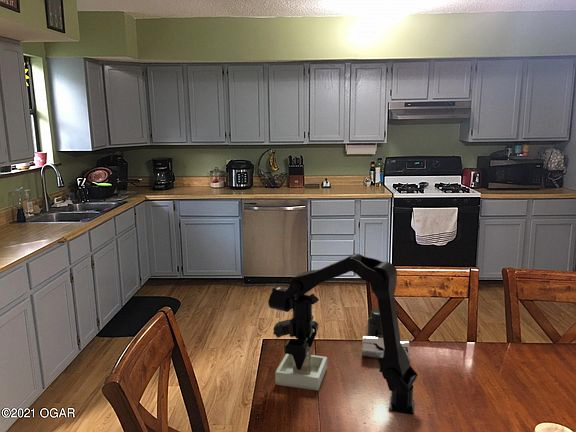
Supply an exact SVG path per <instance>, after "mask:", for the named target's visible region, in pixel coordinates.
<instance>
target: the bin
mask: <svg viewBox="0 0 576 432" xmlns="http://www.w3.org/2000/svg"><path fill="white" fill-rule="evenodd" d="M327 370H328V357H327V356H322V355H315V354H311V372H310V374H309V375H306V374H299V373H293V356H292V355H291V354H286V353H285V355H284V357H283V359H282V360H281V362H279V366H278V367H277V368H276V370H275V375H274V376H275V377H274V378H275V385H277V386H284V387H291V388H298V389H304V390H312V391H319V390H320V388H321V386H322V383H323V380H324V378H325V374H326V372H327Z"/></svg>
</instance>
